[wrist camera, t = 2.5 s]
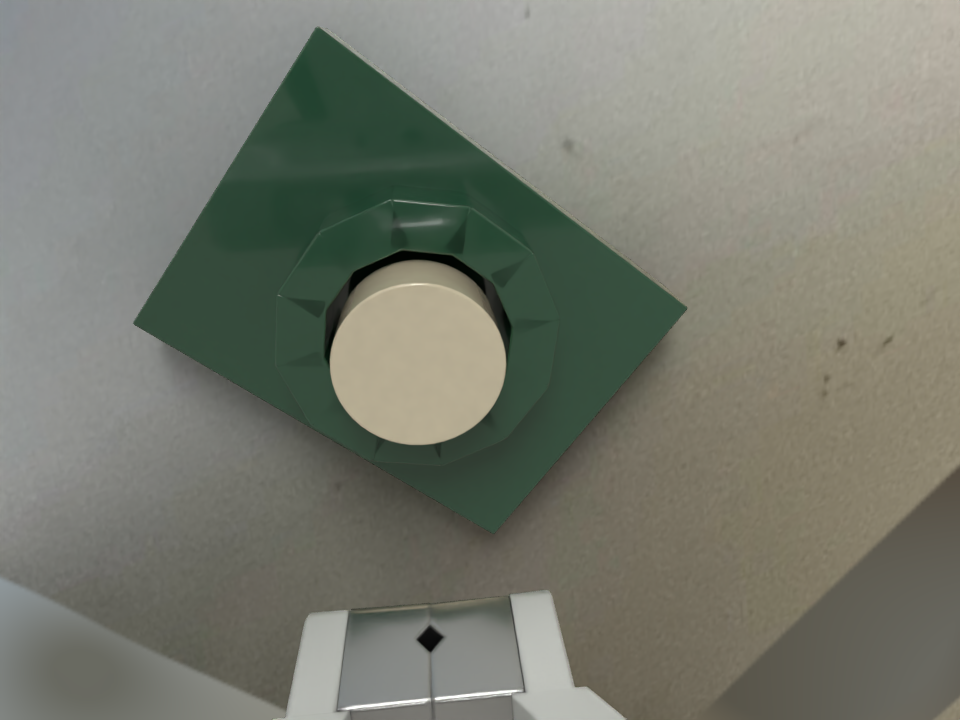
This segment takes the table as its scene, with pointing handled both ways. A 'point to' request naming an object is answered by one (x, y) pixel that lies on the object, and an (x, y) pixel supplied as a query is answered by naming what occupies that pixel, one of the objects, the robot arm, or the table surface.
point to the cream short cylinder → (417, 353)
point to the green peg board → (393, 238)
